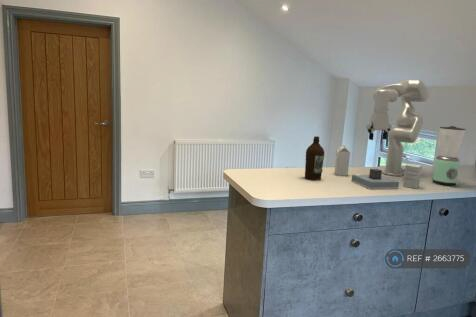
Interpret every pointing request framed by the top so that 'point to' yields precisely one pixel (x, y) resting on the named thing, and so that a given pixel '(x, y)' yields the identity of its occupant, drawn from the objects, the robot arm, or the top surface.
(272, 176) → the top surface
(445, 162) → the mint green blender
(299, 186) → the top surface
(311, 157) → the olive oil
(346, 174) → the milk carton
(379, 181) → the socket plate
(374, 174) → the plug
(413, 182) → the supplement box
